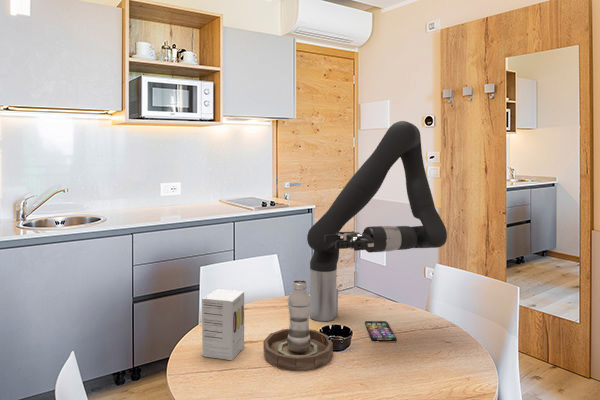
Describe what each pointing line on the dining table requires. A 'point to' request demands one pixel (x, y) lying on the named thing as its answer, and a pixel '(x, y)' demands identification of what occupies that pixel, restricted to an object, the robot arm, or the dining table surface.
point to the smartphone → (379, 331)
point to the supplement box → (223, 324)
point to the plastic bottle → (299, 318)
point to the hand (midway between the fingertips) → (330, 241)
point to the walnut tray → (294, 361)
